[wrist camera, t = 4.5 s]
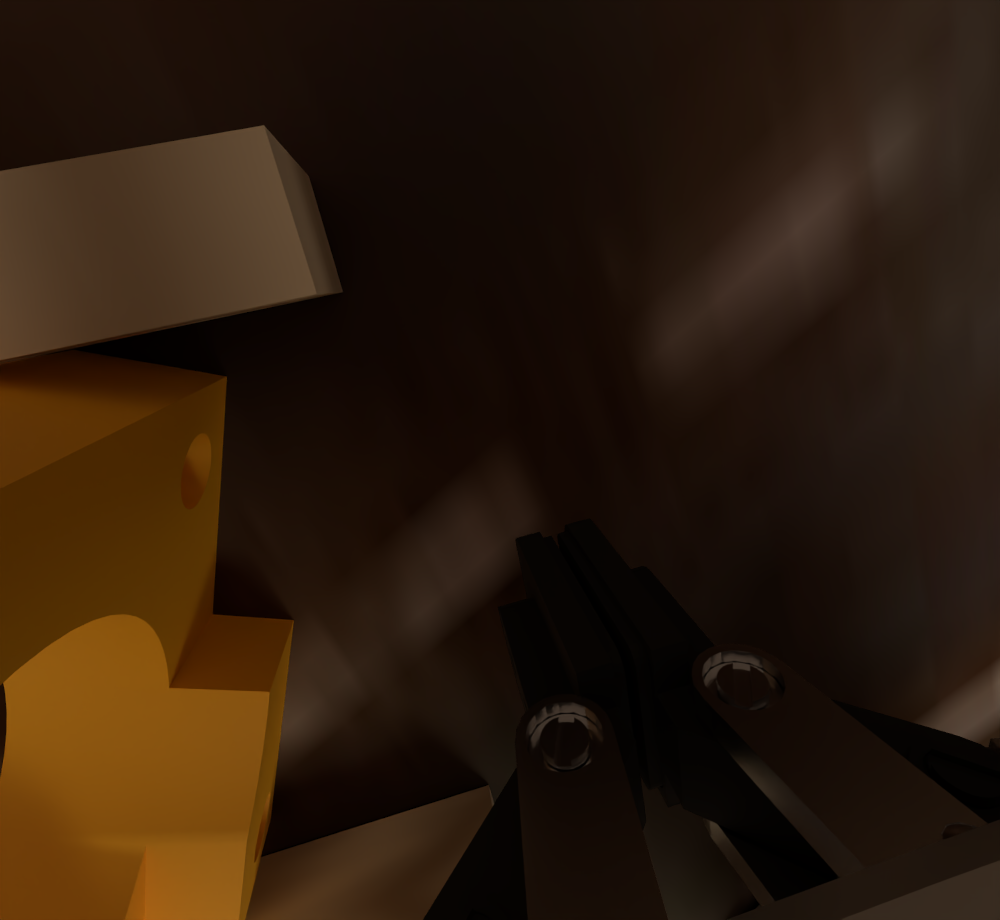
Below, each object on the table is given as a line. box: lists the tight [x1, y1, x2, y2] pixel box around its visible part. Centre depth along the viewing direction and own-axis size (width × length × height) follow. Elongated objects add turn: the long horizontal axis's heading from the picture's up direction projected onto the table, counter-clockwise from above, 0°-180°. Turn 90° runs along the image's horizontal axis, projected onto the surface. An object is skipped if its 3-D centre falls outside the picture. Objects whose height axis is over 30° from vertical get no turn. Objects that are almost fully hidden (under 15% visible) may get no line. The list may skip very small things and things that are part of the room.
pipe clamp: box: [0, 350, 294, 920], centre depth 9 cm, size 12×4×6 cm, turn 167°
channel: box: [0, 125, 494, 920], centre depth 10 cm, size 17×18×3 cm
